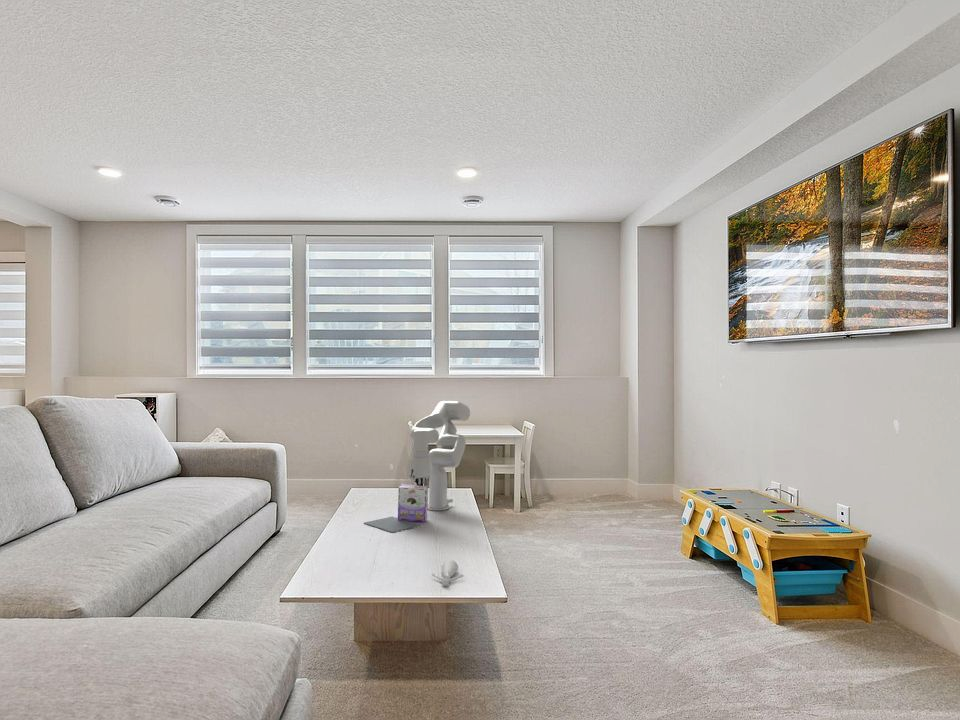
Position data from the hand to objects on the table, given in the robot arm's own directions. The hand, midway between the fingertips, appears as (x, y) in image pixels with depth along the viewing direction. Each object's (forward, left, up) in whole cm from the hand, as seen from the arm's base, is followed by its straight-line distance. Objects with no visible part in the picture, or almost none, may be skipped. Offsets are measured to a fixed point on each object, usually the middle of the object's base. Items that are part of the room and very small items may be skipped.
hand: (419, 491), depth 291 cm
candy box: (+4, 0, -13) cm, 14 cm away
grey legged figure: (+46, +70, -14) cm, 85 cm away
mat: (+17, 0, -13) cm, 21 cm away
